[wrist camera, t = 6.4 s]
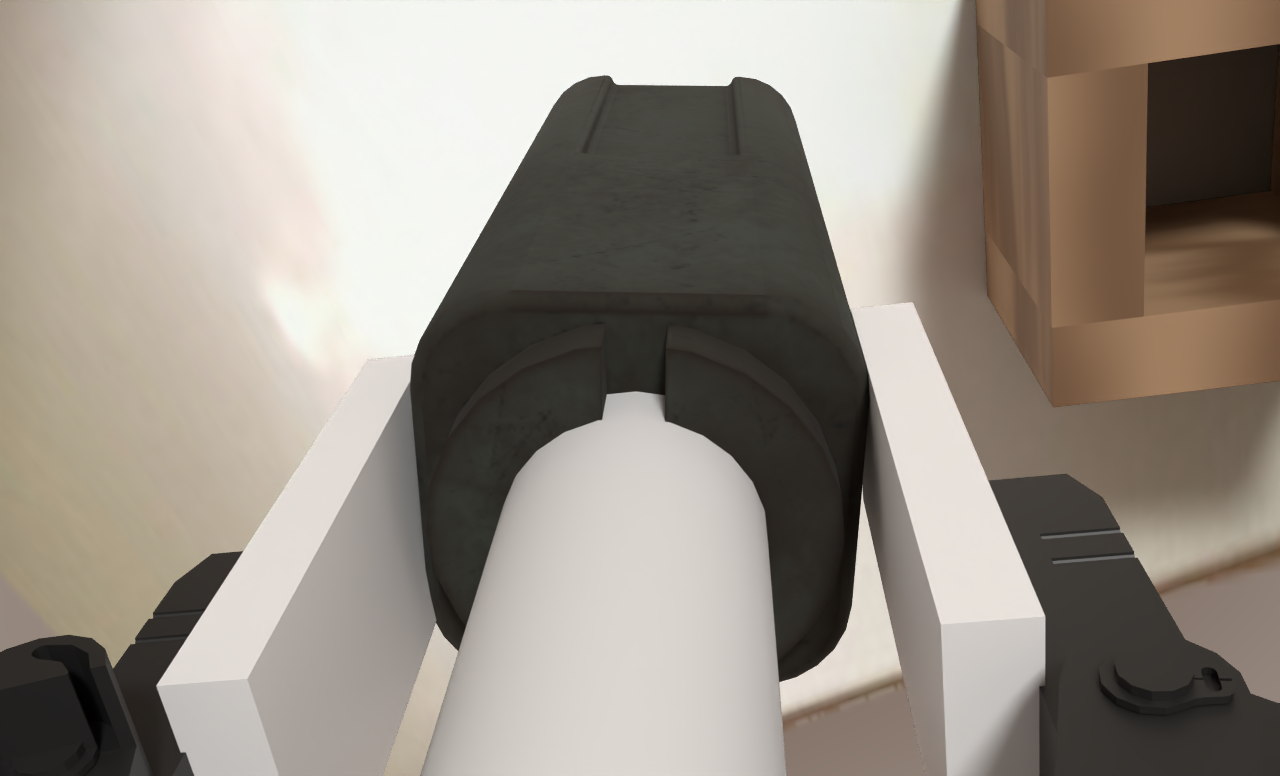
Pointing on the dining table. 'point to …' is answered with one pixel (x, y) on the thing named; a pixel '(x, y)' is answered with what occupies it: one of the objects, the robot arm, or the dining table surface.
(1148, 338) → the well block
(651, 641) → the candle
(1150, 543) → the dining table surface
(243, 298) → the dining table surface
